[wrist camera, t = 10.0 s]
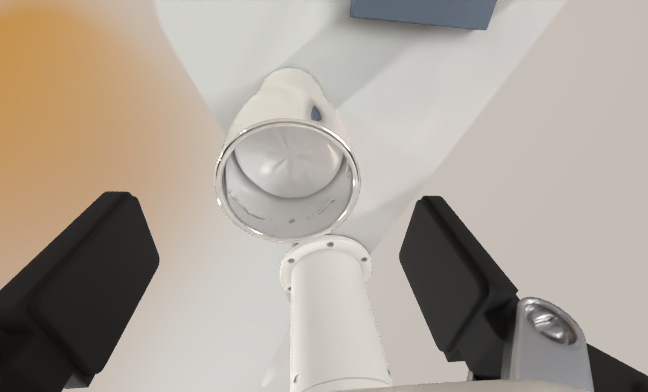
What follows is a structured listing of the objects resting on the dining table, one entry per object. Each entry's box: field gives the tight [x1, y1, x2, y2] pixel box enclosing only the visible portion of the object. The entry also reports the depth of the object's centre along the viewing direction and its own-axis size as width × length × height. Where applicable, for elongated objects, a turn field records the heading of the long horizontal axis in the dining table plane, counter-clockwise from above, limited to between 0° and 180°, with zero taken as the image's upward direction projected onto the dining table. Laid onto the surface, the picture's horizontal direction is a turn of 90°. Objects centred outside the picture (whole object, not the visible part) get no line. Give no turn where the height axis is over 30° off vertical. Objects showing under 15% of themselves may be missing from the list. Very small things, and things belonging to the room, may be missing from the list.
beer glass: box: [214, 68, 361, 243], centre depth 18 cm, size 7×7×15 cm
